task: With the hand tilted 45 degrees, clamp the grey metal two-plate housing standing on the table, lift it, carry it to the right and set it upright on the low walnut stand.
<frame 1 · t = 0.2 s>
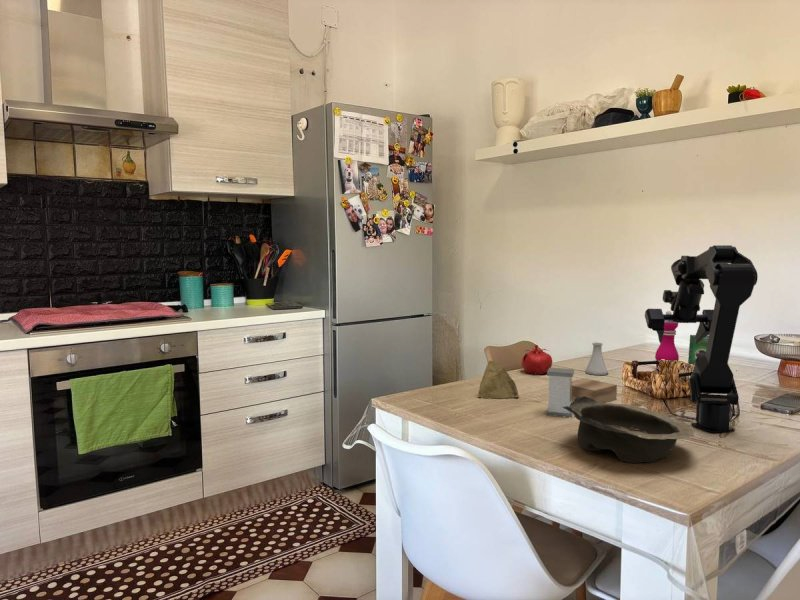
hand: (677, 342, 165), 15 cm above the table, tool tilted 35°, fingers open, 9 cm apart
pomegranate: (536, 373, 196), on the table
housing: (559, 413, 148), on the table
rock: (499, 398, 164), on the table
stand: (589, 398, 162), on the table
pepper mill: (666, 370, 199), on the table
flask: (596, 374, 194), on the table
stone bowl: (627, 451, 122), on the table
coffee box: (701, 376, 191), on the table
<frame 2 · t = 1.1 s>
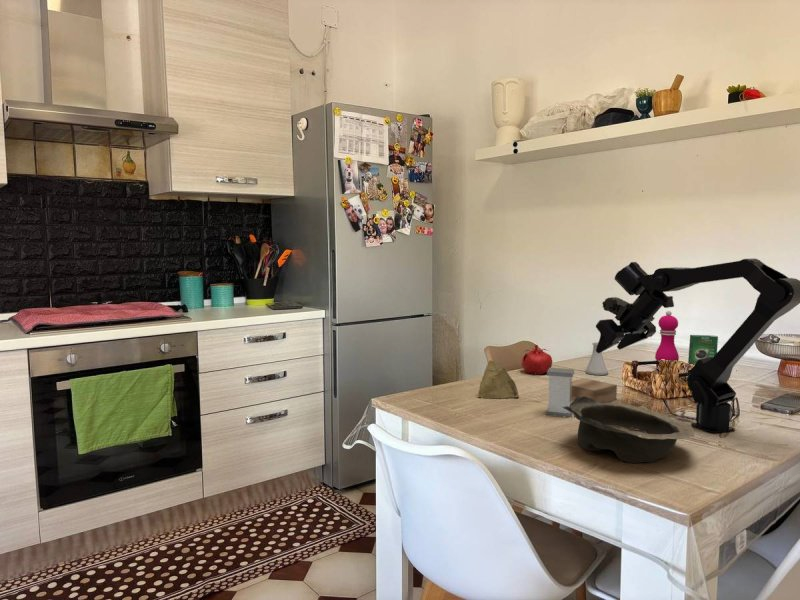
hand: (607, 350, 157), 14 cm above the table, tool tilted 40°, fingers open, 9 cm apart
nothing on the table moved.
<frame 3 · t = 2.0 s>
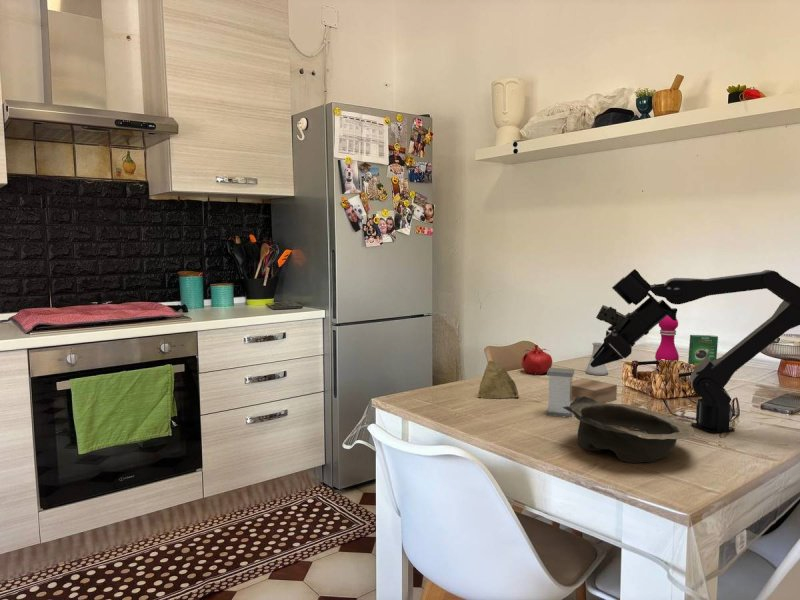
hand: (592, 362, 144), 13 cm above the table, tool tilted 45°, fingers open, 9 cm apart
nothing on the table moved.
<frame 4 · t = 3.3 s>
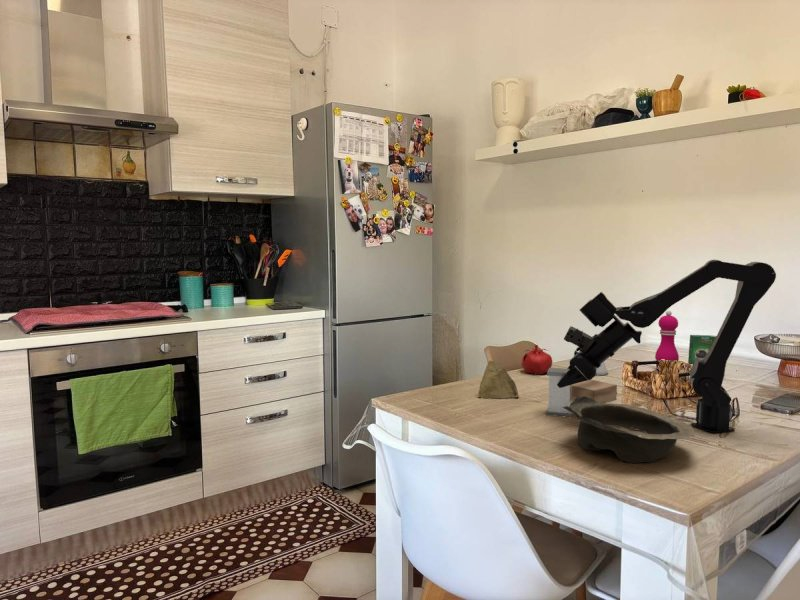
hand: (560, 382, 147), 8 cm above the table, tool tilted 45°, fingers open, 9 cm apart
nothing on the table moved.
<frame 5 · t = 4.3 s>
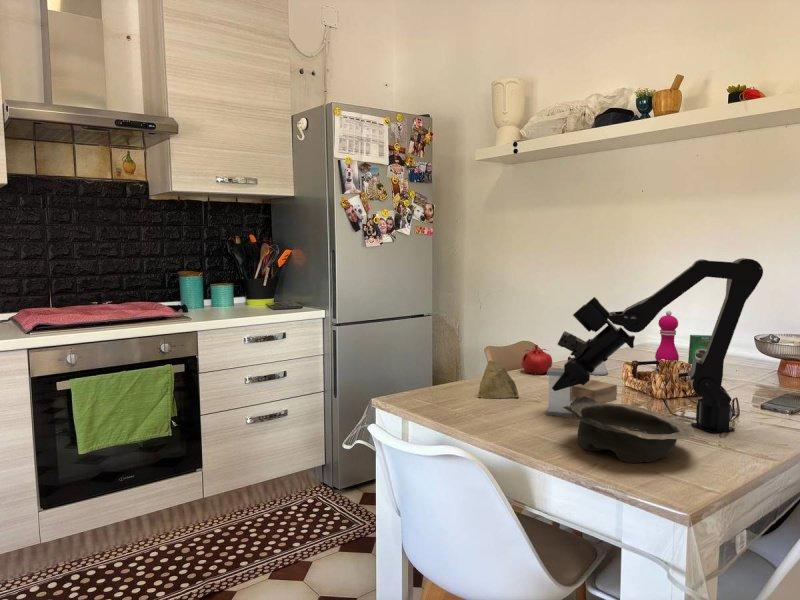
hand: (554, 387, 148), 7 cm above the table, tool tilted 45°, fingers closed on housing, 5 cm apart
housing: (559, 413, 148), on the table, touching gripper
everything else where it was.
when the fingers open (12 cm above the table, at t = 7.4 s): housing stays where it is, resting on stand.
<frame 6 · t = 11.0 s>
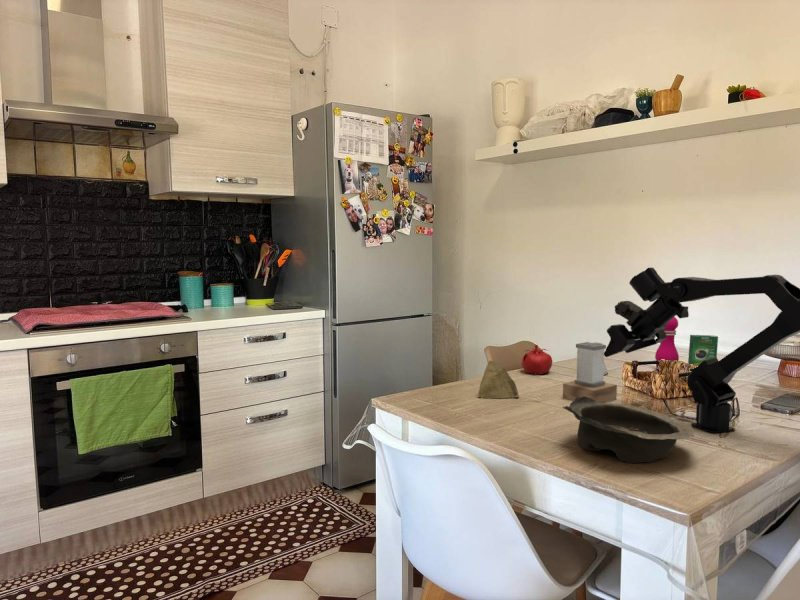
hand: (615, 353, 155), 14 cm above the table, tool tilted 45°, fingers open, 9 cm apart
housing: (589, 384, 162), point 4 cm above the table, touching stand
everything else where it was.
at the end: housing inside the target area on the stand (0.0 cm from its centre), point 4.0 cm above the stand's base; housing tilted 0°; the gripper is holding nothing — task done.
